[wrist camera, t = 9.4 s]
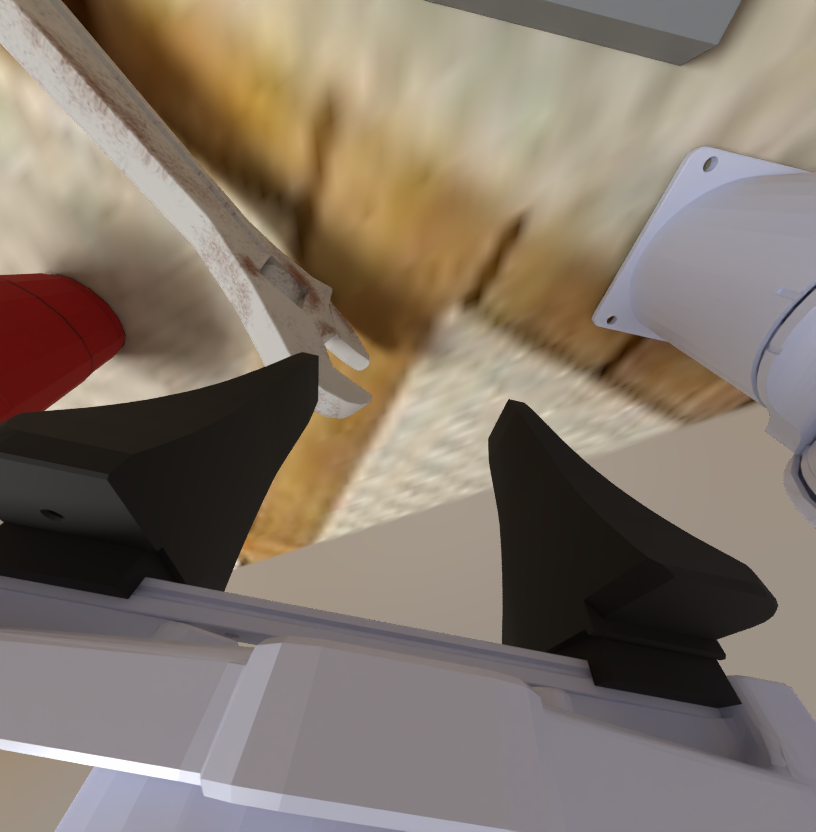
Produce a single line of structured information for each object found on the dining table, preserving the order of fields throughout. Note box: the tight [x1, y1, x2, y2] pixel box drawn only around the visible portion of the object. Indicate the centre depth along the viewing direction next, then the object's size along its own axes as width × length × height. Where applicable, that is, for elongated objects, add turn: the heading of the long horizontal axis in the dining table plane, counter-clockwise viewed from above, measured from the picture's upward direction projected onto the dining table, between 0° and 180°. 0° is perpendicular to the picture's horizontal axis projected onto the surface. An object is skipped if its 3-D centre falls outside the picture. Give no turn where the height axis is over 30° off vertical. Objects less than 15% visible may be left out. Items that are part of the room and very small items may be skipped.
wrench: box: [0, 0, 372, 419], centre depth 12 cm, size 8×2×30 cm
